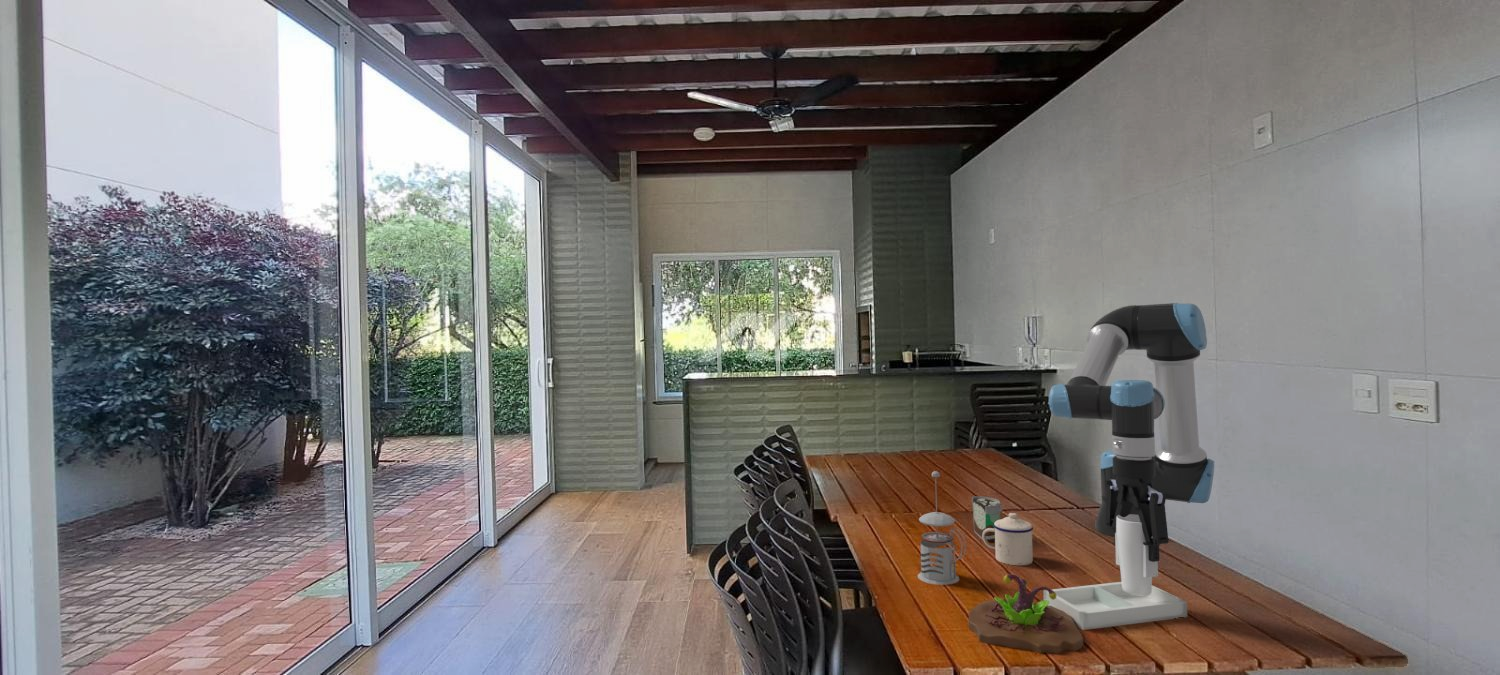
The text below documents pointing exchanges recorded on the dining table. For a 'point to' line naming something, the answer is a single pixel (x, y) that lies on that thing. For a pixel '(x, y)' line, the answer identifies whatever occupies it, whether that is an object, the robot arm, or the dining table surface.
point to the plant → (1025, 622)
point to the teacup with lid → (1012, 540)
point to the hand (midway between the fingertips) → (1136, 569)
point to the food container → (985, 515)
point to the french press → (946, 570)
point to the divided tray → (1115, 605)
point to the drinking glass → (1132, 555)
